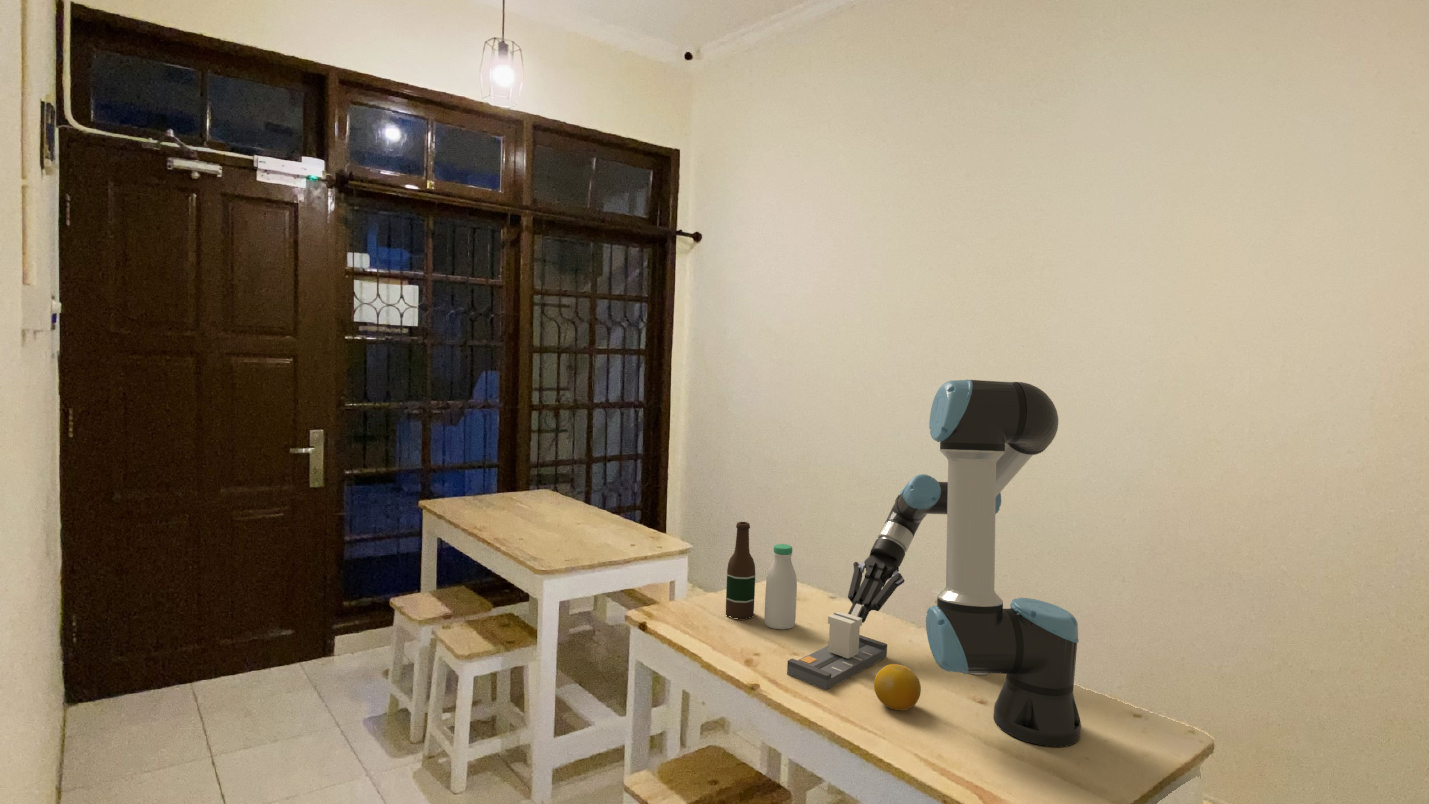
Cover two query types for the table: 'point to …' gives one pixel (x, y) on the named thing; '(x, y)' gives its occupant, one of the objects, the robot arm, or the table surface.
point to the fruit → (897, 687)
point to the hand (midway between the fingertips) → (849, 632)
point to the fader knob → (844, 634)
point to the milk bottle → (781, 590)
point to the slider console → (836, 664)
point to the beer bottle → (741, 577)
